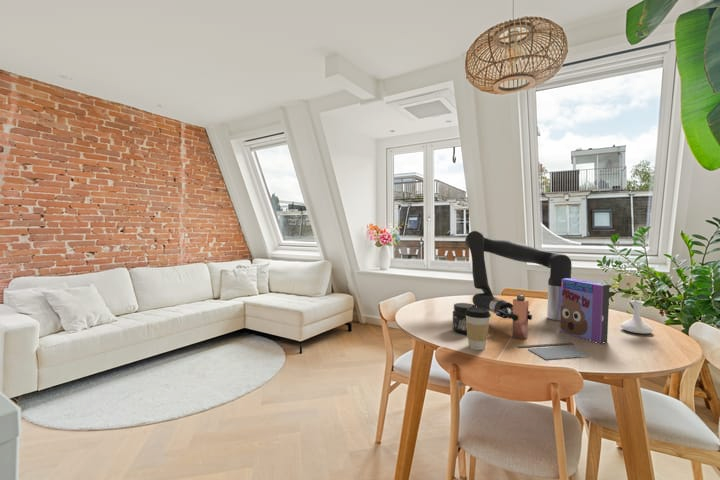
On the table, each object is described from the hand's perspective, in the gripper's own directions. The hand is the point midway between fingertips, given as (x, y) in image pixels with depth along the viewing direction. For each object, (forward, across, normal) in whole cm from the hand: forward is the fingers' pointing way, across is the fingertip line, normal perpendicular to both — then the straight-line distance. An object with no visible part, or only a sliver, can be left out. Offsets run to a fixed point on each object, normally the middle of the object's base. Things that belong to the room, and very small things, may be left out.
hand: (523, 317), depth 146 cm
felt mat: (+17, +3, +9) cm, 19 cm away
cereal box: (+2, +27, +9) cm, 29 cm away
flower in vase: (0, +55, +9) cm, 56 cm away
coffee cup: (+6, -24, +9) cm, 26 cm away
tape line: (+9, +4, +9) cm, 13 cm away
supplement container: (-13, -20, +9) cm, 26 cm away
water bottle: (-2, 0, +9) cm, 9 cm away
